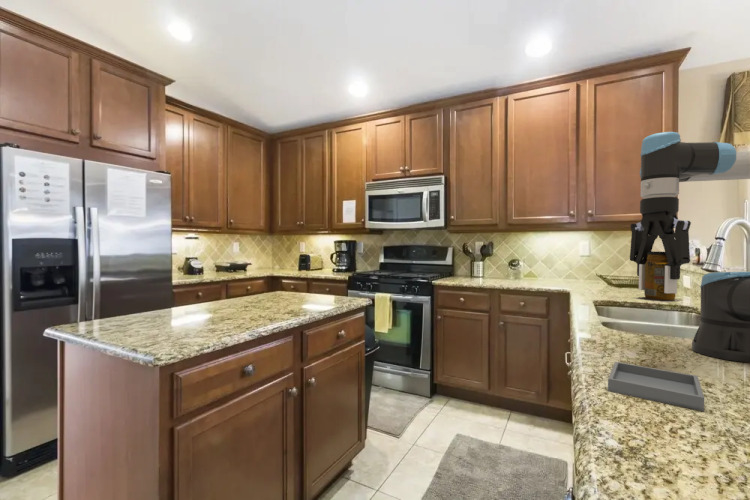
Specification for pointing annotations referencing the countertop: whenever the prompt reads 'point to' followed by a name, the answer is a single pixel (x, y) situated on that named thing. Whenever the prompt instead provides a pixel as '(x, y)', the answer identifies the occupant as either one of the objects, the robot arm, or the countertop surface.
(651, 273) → the condiment
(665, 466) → the countertop surface
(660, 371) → the tray
